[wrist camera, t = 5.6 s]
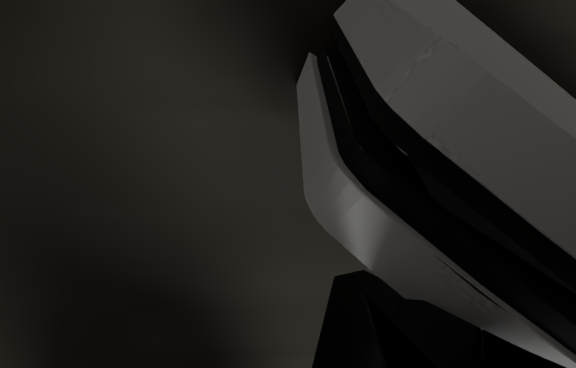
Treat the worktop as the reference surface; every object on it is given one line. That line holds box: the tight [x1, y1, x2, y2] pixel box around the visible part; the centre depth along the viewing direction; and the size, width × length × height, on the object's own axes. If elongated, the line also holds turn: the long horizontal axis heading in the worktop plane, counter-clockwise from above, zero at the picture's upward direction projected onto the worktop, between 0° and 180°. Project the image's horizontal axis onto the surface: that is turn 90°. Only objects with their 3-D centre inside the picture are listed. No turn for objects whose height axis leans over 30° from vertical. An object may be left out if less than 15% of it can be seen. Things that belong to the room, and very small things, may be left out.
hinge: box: [296, 0, 576, 368], centre depth 10 cm, size 17×5×10 cm, turn 58°
